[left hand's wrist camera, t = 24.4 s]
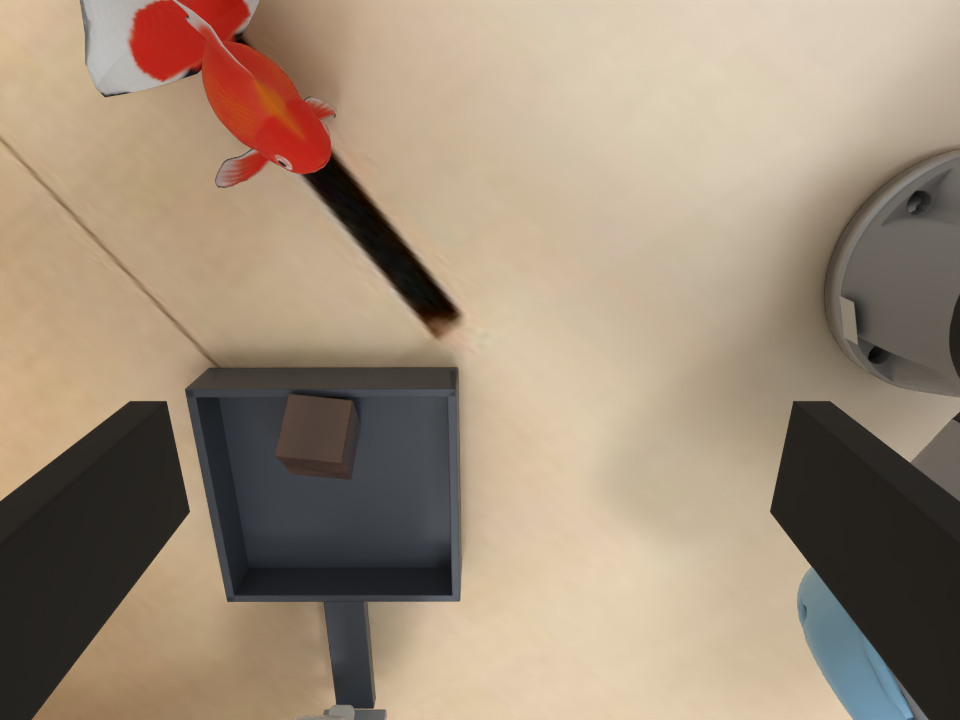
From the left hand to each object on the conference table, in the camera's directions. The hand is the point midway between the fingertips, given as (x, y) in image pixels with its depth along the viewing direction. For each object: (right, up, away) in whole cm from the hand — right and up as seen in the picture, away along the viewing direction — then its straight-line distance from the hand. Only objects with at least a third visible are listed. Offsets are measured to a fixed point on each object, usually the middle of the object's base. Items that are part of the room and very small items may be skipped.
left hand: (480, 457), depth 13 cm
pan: (-10, -12, +33) cm, 37 cm away
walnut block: (-10, -4, +28) cm, 30 cm away
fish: (-14, +19, +21) cm, 32 cm away
